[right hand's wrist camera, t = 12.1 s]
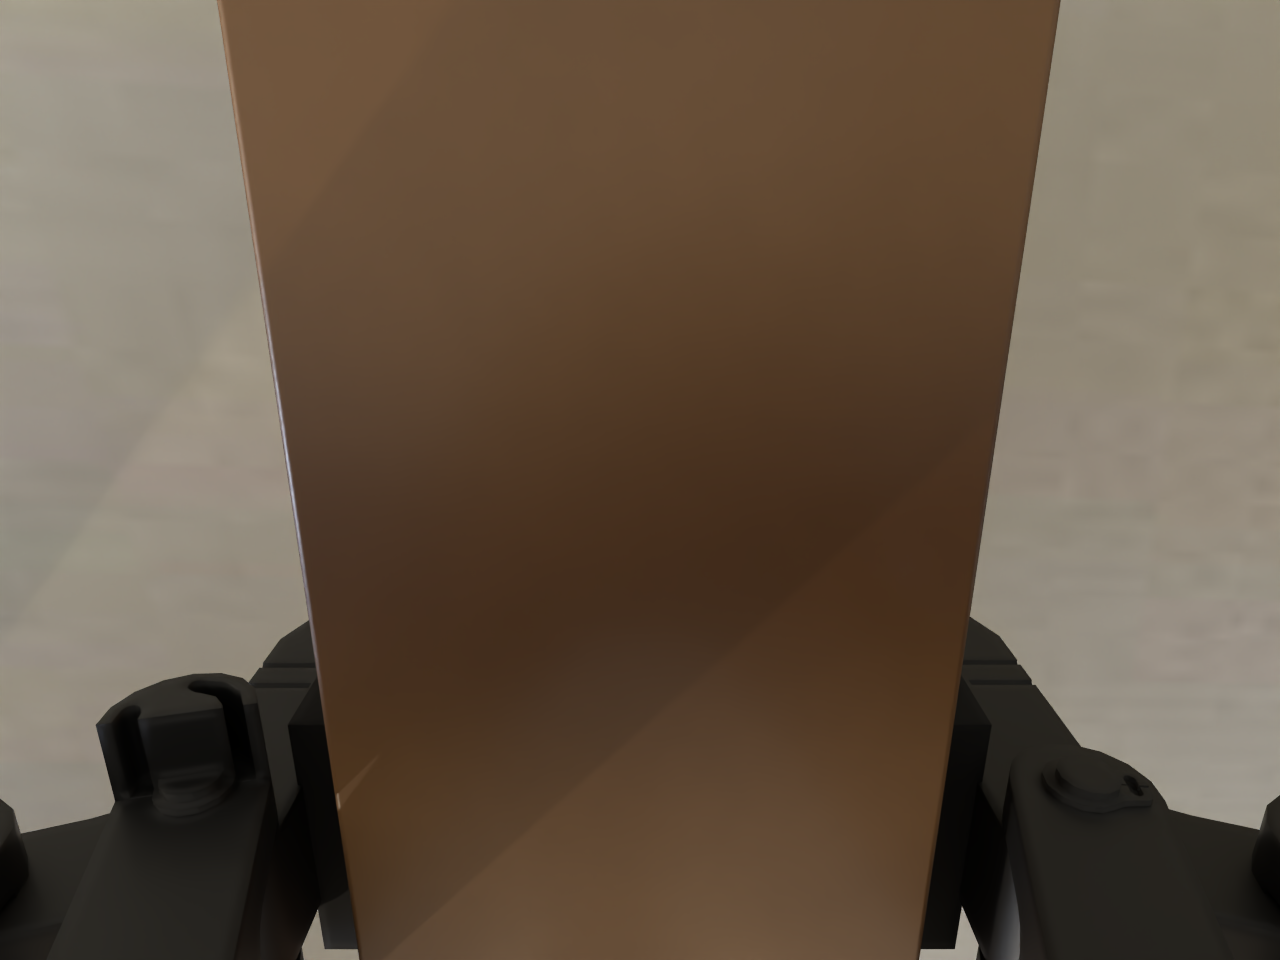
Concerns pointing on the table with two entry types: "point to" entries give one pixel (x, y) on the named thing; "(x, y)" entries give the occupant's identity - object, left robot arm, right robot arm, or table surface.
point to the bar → (639, 447)
